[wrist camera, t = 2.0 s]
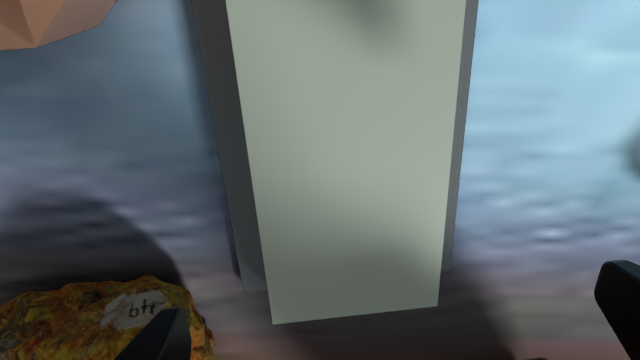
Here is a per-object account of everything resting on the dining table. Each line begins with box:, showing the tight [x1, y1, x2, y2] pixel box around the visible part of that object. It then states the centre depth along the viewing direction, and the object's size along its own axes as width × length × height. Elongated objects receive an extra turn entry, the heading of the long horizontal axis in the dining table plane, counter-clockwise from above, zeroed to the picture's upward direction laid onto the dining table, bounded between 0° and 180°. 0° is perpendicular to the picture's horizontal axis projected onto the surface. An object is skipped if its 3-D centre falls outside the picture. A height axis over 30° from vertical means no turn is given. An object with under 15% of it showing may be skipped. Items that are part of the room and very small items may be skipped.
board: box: [226, 0, 466, 325], centre depth 15 cm, size 12×6×2 cm, turn 3°
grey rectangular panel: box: [191, 0, 478, 292], centre depth 16 cm, size 12×9×1 cm
